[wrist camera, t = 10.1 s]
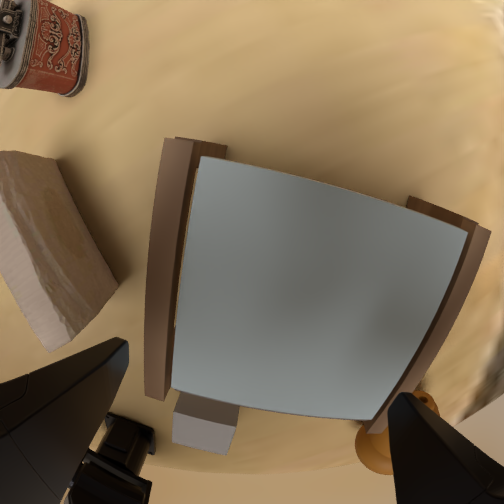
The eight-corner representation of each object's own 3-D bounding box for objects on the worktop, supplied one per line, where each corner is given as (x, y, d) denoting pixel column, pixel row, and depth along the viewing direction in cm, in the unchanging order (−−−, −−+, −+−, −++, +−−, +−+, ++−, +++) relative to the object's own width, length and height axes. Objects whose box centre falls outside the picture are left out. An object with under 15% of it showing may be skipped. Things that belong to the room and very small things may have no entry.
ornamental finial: (403, 423, 25) (420, 473, 18) (346, 425, 25) (356, 482, 18) (438, 373, 23) (467, 424, 16) (377, 371, 23) (400, 434, 16)
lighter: (60, 27, 15) (-17, -1, 5) (90, 10, 14) (14, -30, 5) (59, 103, 17) (-35, 97, 8) (90, 88, 17) (-7, 68, 7)
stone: (233, 416, 26) (226, 455, 21) (184, 404, 26) (171, 441, 21) (242, 384, 24) (236, 427, 19) (188, 371, 24) (173, 411, 19)
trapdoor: (457, 227, 11) (468, 232, 10) (365, 412, 15) (368, 423, 15) (207, 156, 11) (201, 156, 10) (175, 381, 15) (170, 392, 15)
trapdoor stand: (422, 200, 18) (492, 229, 10) (358, 362, 22) (380, 434, 15) (209, 142, 18) (165, 135, 10) (180, 326, 22) (144, 396, 15)
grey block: (25, 181, 18) (-43, 180, 9) (55, 158, 19) (-8, 141, 10) (90, 304, 22) (49, 362, 12) (122, 285, 22) (91, 339, 13)
